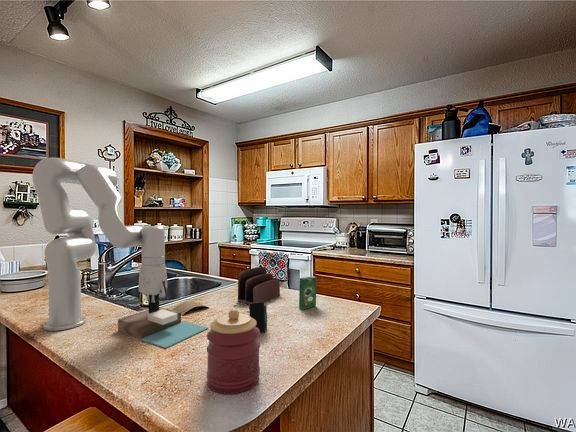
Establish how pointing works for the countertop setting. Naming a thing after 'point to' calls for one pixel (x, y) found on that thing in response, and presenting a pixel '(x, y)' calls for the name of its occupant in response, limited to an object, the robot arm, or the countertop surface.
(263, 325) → the speaker
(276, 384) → the countertop surface
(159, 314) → the tile
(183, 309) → the clay tablet
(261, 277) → the letter holder
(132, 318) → the brown flat block
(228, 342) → the canister
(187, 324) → the mat
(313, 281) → the coffee box
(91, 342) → the countertop surface
